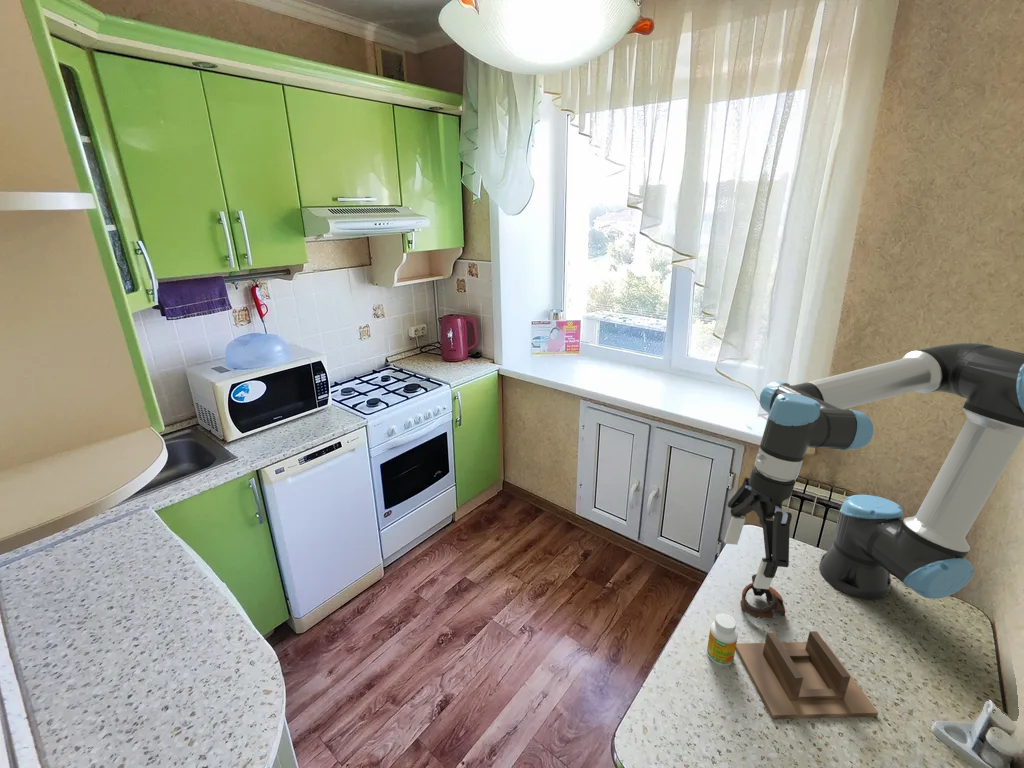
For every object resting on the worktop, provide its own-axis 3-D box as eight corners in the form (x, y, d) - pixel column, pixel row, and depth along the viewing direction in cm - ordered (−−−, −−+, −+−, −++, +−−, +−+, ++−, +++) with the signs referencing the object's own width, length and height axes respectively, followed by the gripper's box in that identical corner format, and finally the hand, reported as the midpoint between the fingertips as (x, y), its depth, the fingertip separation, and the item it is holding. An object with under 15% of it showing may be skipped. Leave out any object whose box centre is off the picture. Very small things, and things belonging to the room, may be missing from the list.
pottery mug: (795, 628, 111) (787, 609, 107) (752, 636, 114) (743, 618, 110) (774, 581, 121) (766, 562, 117) (736, 589, 124) (727, 572, 120)
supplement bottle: (708, 663, 102) (714, 628, 99) (705, 643, 107) (710, 608, 104) (735, 668, 101) (742, 633, 98) (730, 647, 106) (736, 612, 102)
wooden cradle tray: (824, 644, 106) (830, 620, 103) (877, 716, 91) (886, 689, 88) (734, 647, 106) (738, 622, 103) (772, 719, 91) (778, 692, 88)
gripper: (727, 442, 104) (704, 525, 110) (791, 506, 80) (755, 607, 87) (761, 446, 104) (735, 529, 111) (834, 511, 80) (796, 611, 87)
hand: (744, 563), depth 99 cm, fingers open, 13 cm apart
